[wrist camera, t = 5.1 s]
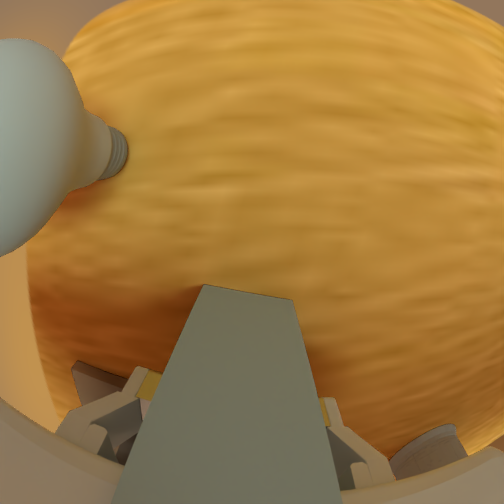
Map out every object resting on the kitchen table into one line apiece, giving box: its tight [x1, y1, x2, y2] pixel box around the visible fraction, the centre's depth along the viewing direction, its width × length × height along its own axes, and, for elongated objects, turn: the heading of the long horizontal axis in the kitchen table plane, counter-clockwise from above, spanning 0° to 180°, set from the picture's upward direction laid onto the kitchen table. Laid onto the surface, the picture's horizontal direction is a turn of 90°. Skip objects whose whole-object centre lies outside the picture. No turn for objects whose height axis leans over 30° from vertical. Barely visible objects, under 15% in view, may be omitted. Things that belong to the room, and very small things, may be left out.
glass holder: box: [389, 424, 468, 480], centre depth 12 cm, size 9×14×15 cm, turn 32°
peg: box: [111, 284, 343, 504], centre depth 8 cm, size 4×4×12 cm
